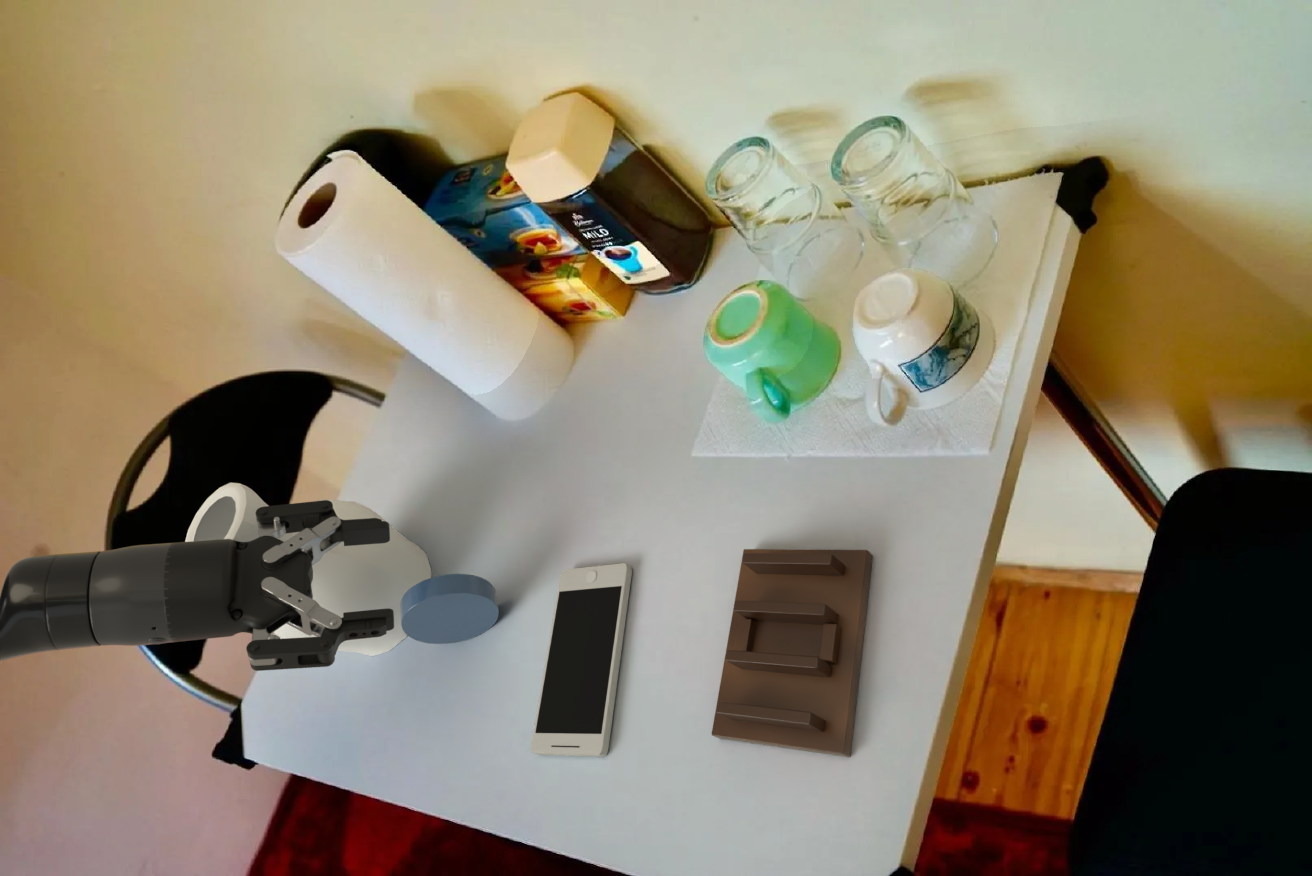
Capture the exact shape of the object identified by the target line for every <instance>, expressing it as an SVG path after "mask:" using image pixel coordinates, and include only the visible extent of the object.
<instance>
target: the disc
mask: <svg viewBox="0 0 1312 876" xmlns="http://www.w3.org/2000/svg"><path fill="white" fill-rule="evenodd" d="M400 612H401V626H402V629H403V631H404V633H405V634H406V635H407V637H409V638H410V639H413V640H414V641H417V642H419V643H424V644H432V645H447V644H455V643H460V642H464V641H465V642H466V641H468V640H470V639H473V638H476V637H477V636H480V635H482V634H484V633H486V632H487V631H488V630H490V629H491V628H492V627H493V626H494V625H495V623H496V622H497V620H498V618H499V616H500V609H499V603H498V595H497V591H496V588H495V586H494V585H493V584H492V583H491V582H490V581H489V580H488V579H486V578H483V577H481V576H478V575H474V574H468V573H447V574H441V575H437V576H431V578H429V579H426V580H424V581H422V582H420V583H418V584H416V585H414V586H413V587H411V588H410V589H409V590H408V591H407V592H406V593H405V594H404V595H403V597H402V599H401V602H400Z"/></svg>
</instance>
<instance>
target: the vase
mask: <svg viewBox="0 0 1312 876" xmlns="http://www.w3.org/2000/svg"><path fill="white" fill-rule="evenodd" d="M322 500H323V499H318V500H317V501H322ZM325 500H328V501H330V502H332V504H333V509H334V511H335V513H336V515H337V517H338V518H340V519H342V520H352V519H369V518H378V519H382V521H386V522H388V521H387V520H386V519H385V518H383V516H381V515H380V514H379V513H377V512H376V511H374V510H373V509H372V508H370V507H368V506H366V505H364V504H362V503H358V502H355V501H348V500H341V499H340V500H339V499H331V498H327V499H325ZM265 506H269V504H268V503H266V502H265V501H264V500H263V499H262V498H261V497H260V496H259V495H258V493H256V492H255V491H254V490H253V489H252V488H250V487H249V486H247V485H244V484H242V483H239V482H228V483H226V484H224V485H222V486H220V487H218V489H216V490H215V491H214V492H213V493H211V494H210V495H209V496H208V497H207V498H206V500H205V501H204V502H203V503H202V504H201V506H200V507H199V509H198V510H197V512H196V513H195V515H194V517H193V519H192V521H191V523H190V525H189V527H188V529H187V533H186V537H185V540H184V542H191V541H205V540H220V539H232V540H235V541H239V542H248V541H252V540H254V539H256V538H258V537H259V529H258V525H257V520H256V510H257V509H258V508H260V507H265ZM389 529H390V541H389V542H387V543H380V544H367V545H353V546H344V542H341V543H340V544H338V545H337V546H335V547H334V548H332V549H331V550H329V551H328V552H326V553H325V554H324V555H323V556H322V558H321V559H320V560H319V561H318V562H317V563H315V564H314V565H312V568H313V580H312V583H311V588H312V595H313V600H315V601H316V602H317V603H318V604H319V605H320V606H321V607H323V608H324V609H326V610H328V611H330V612H332V613H334V614H336V615H338V616H340V617H341V618H343V613H345V612H356V611H366V610H377V609H387V608H388V609H392V610H393V611H394V628H393V629H392V630H389V631H386V634H385V635H383V636H381V637H374V638H373V637H372V638H364V639H354V640H347V641H344V642H342V643H341V644H340V645H339V647H338V649H337V652H347V653H348V652H349V653H357V654H362V655H366V656H370V657H375V656H378V655H381V654H384V653H388V652H391V650H392V649H393V648H395V647H396V646H397V645H399V644H400V643H401V642H403V641H404V640H405V639H406V638H407V637H408V635H406V634H405V633H404V631H403V629H402V626H401V612H400V602H401V599H402V597H403V595H404V594H405V593H406V592H407V591H408V590H409V589H410V588H411V587H413V586H414V585H416V584H418V583H420V582H422V581H424V580H426V579H429V578H432V568H431V565H430V561H429V557H428V554H427V553H426V552H425V551H424V550H423V549H422V548H421V547H420V546H419V545H418V544H416V543H415V542H413V541H411V540H409V539H408V538H406V537H405V536H404V535H403V534H401V533H400V532H399V531H398V530H397V529H395V528H394V527H393V525H391V524H390V523H389ZM298 533H299V532H295V533H286V534H284V535H283V537H282V538H277V537H276V538H277V539H279V540H281V541H283V542H285V541H287V540H288V539H290V538H291V537H293V536H295V535H296V534H298ZM302 551H304V549H303V550H302ZM273 634H274V635H277V636H279V637H280V639H286V638H305V637H316V636H315V635H307V634H305V633H303V632H301V631H299V630H297V629H296V628H294V627H292V626H290V625H288V624H285V625H283V626H282V627H280V628H279V629H277V630H276V631H274V632H273Z"/></svg>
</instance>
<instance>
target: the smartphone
mask: <svg viewBox="0 0 1312 876" xmlns="http://www.w3.org/2000/svg"><path fill="white" fill-rule="evenodd" d="M632 574H633V569H632V566H630V565H629V564H627V563H625V562H621V563H613V564H604V565H593V566H585V567H576V568H575V567H574V568H567V569H563V570H562V571H561V572H560V575H559V581H558V585H557V592H556V598H555V604H554V609H553V616H552V621H551V627H550V631H549V632H550V633H549V639H548V644H547V651H546V655H545V662H544V668H543V673H542V679H541V686H540V692H539V697H538V701H537V702H538V703H537V708H536V713H535V721H534V726H533V732H532V736H531V737H532V738H531V744H530V751H531V753H532V754H534V755H538V756H559V757H560V756H561V757H594V758H595V757H596V758H604V757H606V756H607V754H608V752H609V748H610V739H611V731H612V725H613V717H614V709H615V702H616V694H617V687H618V681H619V671H620V664H621V658H622V650H623V642H624V635H625V629H626V628H625V627H626V620H627V612H628V606H629V605H628V604H629V597H630V590H631V583H632V582H631V581H632V577H633V576H632Z"/></svg>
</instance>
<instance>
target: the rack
mask: <svg viewBox="0 0 1312 876" xmlns="http://www.w3.org/2000/svg"><path fill="white" fill-rule="evenodd" d="M873 558H874V556H873V554H872V553H871V552H870V551H869V550H868V549H805V548H803V549H799V548H798V549H797V548H796V549H795V548H794V549H793V548H791V549H786V548H784V549H783V548H782V549H781V548H779V549H777V548H776V549H775V548H771V549H770V548H766V549H765V548H764V549H763V548H747V549H746V548H744V549H743V551H742V556H741V562H740V569H739V574H738V580H737V586H736V590H735V597H734V601H733V602H734V603H733V608H732V615H731V621H730V627H729V631H728V638H727V644H726V649H725V655H724V661H723V665H722V666H723V667H722V672H721V678H720V683H719V690H718V696H717V700H716V707H715V711H714V717H713V724H712V729H711V736H713V737H715V738H717V739H719V740H726V741H732V742H733V741H734V742H740V743H746V744H747V743H748V744H753V745H762V746H767V747H768V746H769V747H775V748H782V749H788V750H795V751H801V752H802V751H803V752H808V753H809V752H810V753H815V754H822V755H829V756H838V757H844V758H850V757H851V753H852V745H853V744H852V743H853V734H854V725H855V718H856V708H857V701H858V700H857V698H858V690H859V683H860V674H861V673H860V672H861V665H862V663H861V662H862V655H863V645H864V639H865V637H864V636H865V628H866V627H865V626H866V620H867V613H868V612H867V610H868V601H869V593H870V586H871V585H870V584H871V575H872V567H873Z"/></svg>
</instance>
